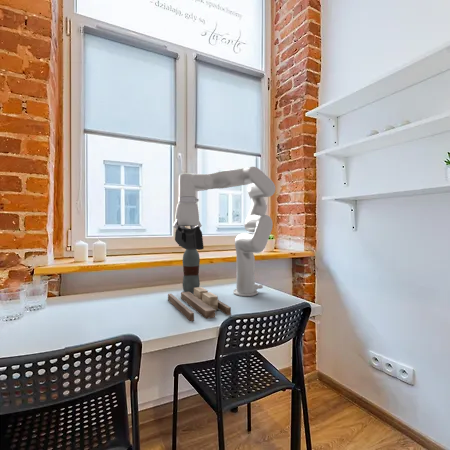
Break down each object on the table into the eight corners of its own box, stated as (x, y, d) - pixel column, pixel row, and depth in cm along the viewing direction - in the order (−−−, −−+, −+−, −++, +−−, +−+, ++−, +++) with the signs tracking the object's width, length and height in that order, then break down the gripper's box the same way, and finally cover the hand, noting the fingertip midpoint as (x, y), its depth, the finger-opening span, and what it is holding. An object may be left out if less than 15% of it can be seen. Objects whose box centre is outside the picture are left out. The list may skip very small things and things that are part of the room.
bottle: (192, 288, 168) (192, 234, 167) (203, 290, 161) (203, 235, 160) (178, 290, 161) (178, 235, 160) (189, 294, 155) (189, 236, 154)
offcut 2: (210, 305, 136) (210, 292, 136) (217, 310, 129) (217, 296, 128) (202, 306, 134) (202, 293, 134) (209, 311, 127) (209, 297, 127)
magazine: (206, 230, 120) (183, 209, 145) (198, 230, 118) (177, 209, 144) (201, 269, 125) (180, 242, 150) (194, 269, 123) (174, 242, 149)
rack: (201, 295, 151) (201, 290, 151) (230, 314, 122) (230, 307, 122) (168, 300, 143) (168, 293, 143) (190, 321, 115) (190, 313, 115)
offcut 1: (201, 299, 146) (201, 287, 145) (207, 303, 138) (207, 290, 138) (193, 300, 144) (193, 287, 144) (199, 304, 137) (199, 291, 136)
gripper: (201, 201, 142) (201, 240, 142) (167, 201, 135) (167, 241, 135) (207, 201, 135) (207, 241, 136) (172, 200, 128) (172, 243, 128)
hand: (187, 241), depth 135 cm, fingers closed on magazine, 3 cm apart
